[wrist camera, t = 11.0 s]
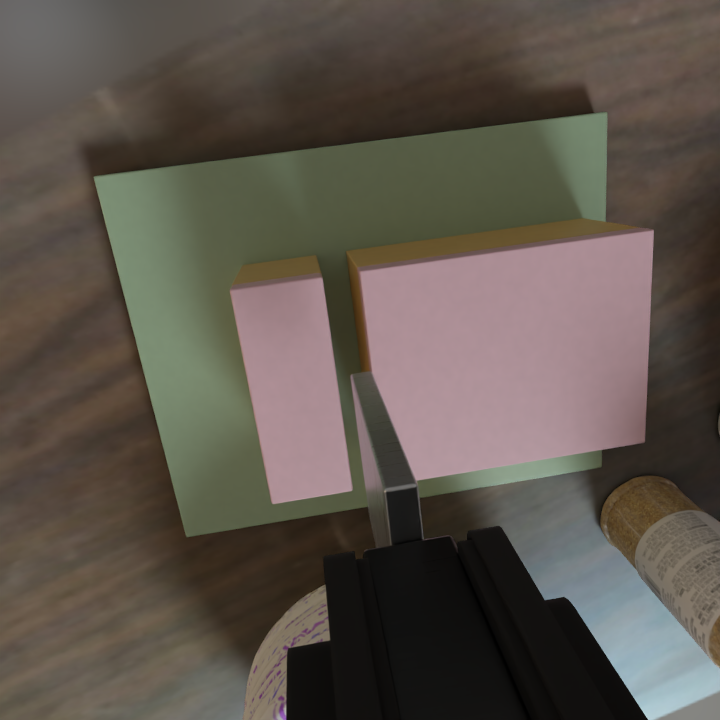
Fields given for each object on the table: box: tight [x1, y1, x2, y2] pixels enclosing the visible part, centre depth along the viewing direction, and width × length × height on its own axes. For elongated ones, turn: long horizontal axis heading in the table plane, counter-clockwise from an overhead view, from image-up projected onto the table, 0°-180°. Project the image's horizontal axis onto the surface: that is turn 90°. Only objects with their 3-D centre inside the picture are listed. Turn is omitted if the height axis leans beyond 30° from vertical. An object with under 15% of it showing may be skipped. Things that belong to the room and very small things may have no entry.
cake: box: [346, 218, 654, 481], centre depth 23 cm, size 8×10×5 cm
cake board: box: [94, 112, 607, 537], centre depth 25 cm, size 16×20×1 cm
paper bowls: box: [243, 585, 330, 720], centre depth 27 cm, size 15×15×8 cm
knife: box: [350, 371, 531, 720], centre depth 10 cm, size 4×2×12 cm, turn 7°
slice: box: [230, 255, 353, 504], centre depth 22 cm, size 8×3×5 cm, turn 7°
